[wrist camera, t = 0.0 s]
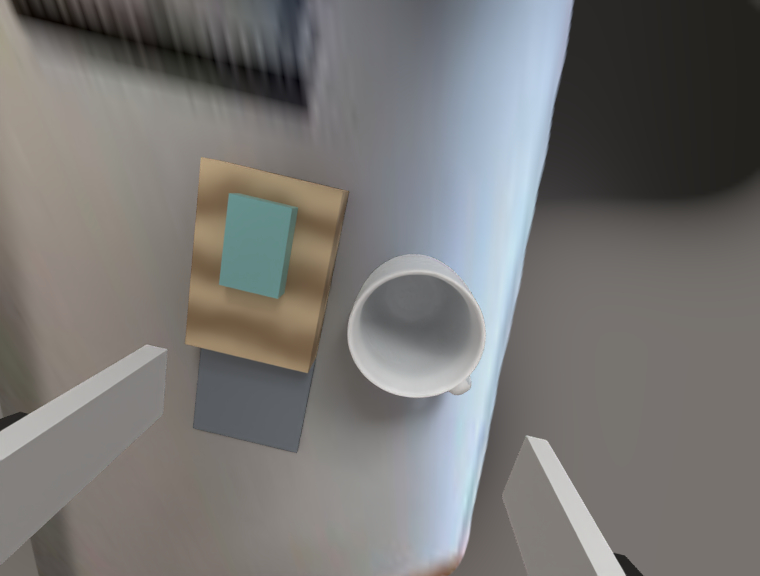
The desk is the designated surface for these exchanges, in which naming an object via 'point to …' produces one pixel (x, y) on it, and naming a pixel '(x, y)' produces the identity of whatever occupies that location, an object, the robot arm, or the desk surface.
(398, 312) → the mug
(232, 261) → the teal rectangular block
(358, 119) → the desk surface
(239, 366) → the mat
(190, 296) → the board
